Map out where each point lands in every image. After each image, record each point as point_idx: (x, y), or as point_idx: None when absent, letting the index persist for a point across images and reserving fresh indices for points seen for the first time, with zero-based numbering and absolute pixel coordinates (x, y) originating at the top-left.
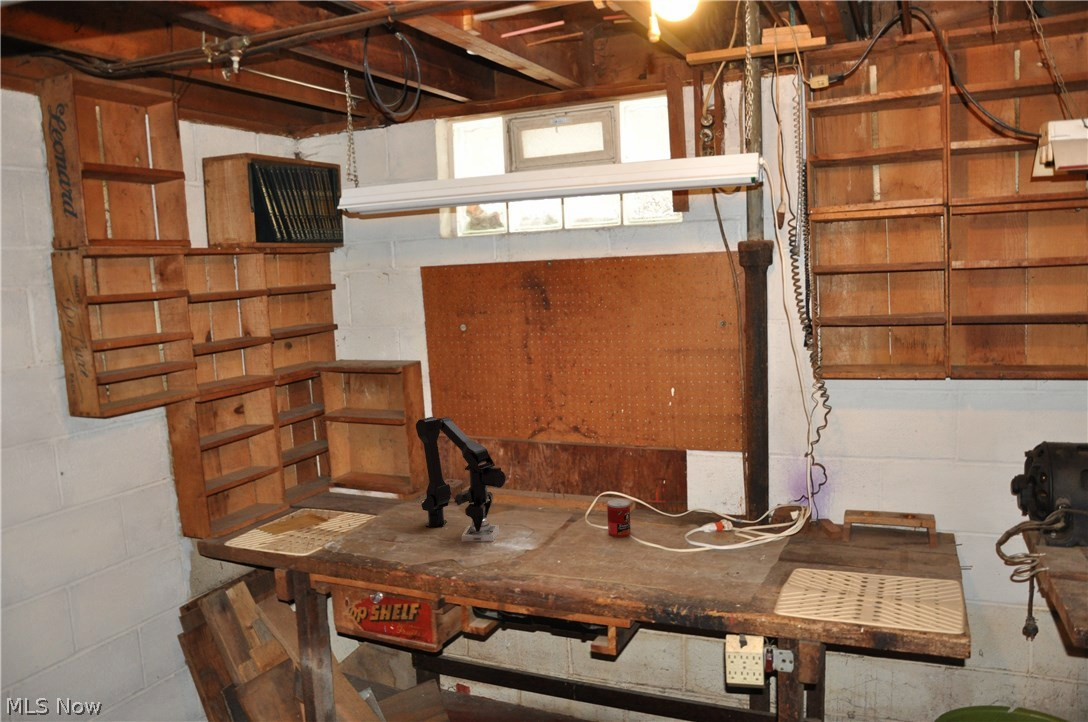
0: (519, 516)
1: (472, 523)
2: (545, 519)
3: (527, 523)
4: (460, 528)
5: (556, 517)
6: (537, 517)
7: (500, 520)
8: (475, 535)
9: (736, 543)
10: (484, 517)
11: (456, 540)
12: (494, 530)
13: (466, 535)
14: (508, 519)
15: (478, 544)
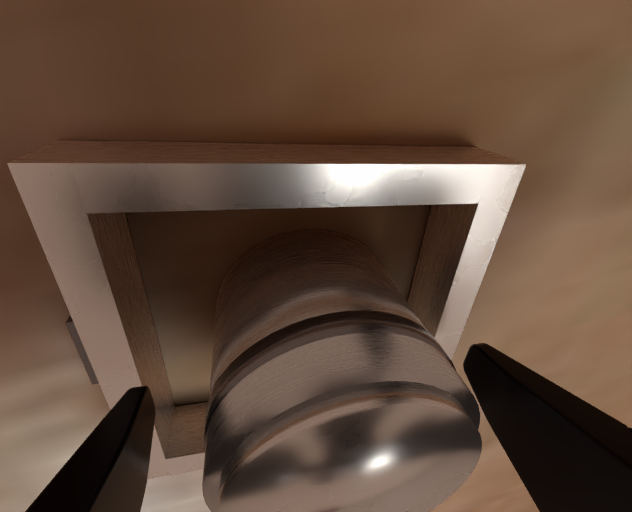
0: (615, 402)
1: (270, 373)
2: (513, 491)
3: (488, 460)
4: (593, 8)
5: (519, 508)
6: None
7: (609, 337)
8: (96, 353)
9: None
10: (419, 501)
11: (74, 33)
12: None
13: (53, 244)
14: (600, 371)
15: (23, 351)
